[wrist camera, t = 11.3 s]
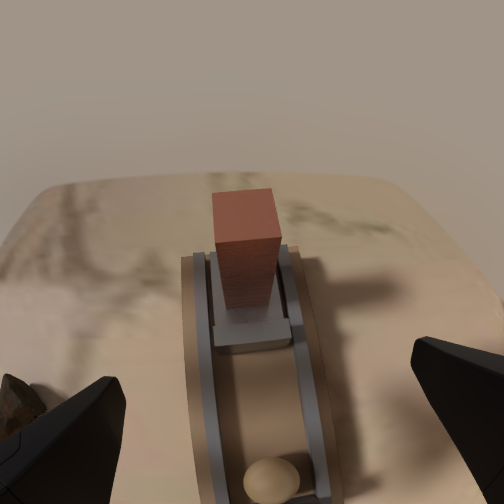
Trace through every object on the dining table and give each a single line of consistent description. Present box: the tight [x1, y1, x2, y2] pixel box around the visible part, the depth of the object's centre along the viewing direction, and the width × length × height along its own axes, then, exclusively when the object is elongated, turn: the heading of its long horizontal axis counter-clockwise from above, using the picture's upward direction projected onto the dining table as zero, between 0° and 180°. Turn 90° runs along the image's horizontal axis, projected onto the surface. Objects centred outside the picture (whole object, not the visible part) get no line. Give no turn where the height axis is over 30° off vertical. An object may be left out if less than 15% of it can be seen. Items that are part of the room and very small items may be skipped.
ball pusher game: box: [181, 244, 344, 504], centre depth 17 cm, size 20×9×5 cm, turn 7°
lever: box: [210, 188, 292, 355], centre depth 17 cm, size 7×4×9 cm, turn 7°
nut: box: [243, 457, 300, 504], centre depth 13 cm, size 3×3×3 cm
